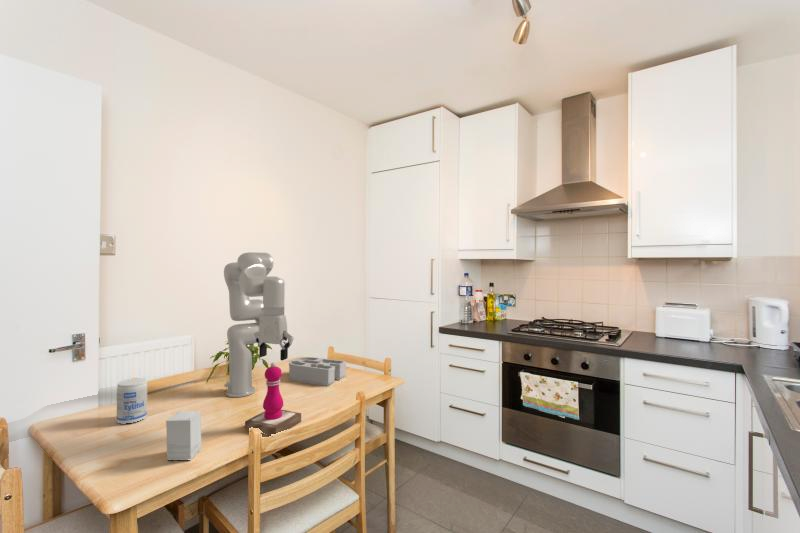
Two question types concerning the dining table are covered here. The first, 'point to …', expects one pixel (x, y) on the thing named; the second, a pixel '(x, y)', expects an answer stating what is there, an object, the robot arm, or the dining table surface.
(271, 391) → the pepper mill
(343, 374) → the grey hollow block
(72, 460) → the dining table surface
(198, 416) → the supplement box
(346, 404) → the dining table surface
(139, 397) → the supplement tub
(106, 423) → the dining table surface
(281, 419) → the base
